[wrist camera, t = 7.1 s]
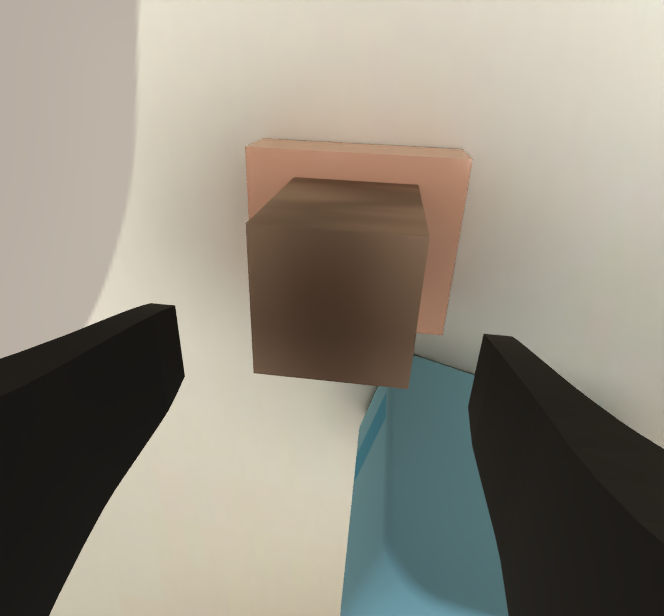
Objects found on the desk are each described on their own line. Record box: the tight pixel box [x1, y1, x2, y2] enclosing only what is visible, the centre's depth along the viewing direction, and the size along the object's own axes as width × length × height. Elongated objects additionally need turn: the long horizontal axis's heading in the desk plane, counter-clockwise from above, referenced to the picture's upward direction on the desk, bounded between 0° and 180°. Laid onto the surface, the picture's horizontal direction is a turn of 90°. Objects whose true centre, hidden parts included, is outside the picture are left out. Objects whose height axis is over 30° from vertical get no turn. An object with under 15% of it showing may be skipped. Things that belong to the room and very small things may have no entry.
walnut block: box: [246, 177, 430, 389], centre depth 15 cm, size 4×4×6 cm
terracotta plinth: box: [245, 138, 473, 335], centre depth 19 cm, size 8×7×2 cm
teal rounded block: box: [341, 356, 509, 616], centre depth 18 cm, size 12×4×12 cm, turn 72°
